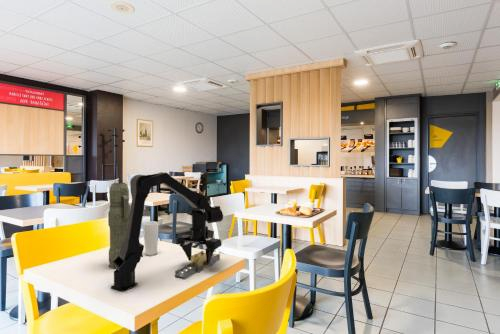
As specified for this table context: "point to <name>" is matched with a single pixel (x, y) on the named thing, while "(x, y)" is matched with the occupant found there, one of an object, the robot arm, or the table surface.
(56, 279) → the table surface
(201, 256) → the link
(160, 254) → the table surface
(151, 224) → the drinking glass
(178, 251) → the table surface
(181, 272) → the chain end
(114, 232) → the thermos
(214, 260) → the chain end
